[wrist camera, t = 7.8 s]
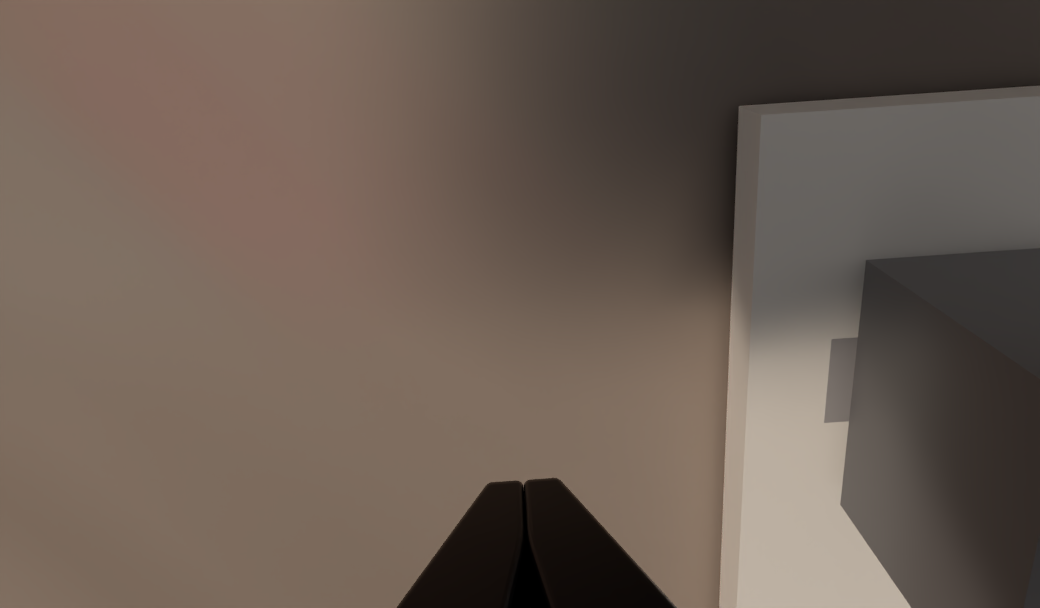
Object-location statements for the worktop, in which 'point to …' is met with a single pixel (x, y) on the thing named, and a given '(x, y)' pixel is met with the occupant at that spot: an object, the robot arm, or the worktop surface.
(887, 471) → the slider
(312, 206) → the worktop surface
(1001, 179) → the switch plate
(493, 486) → the robot arm
